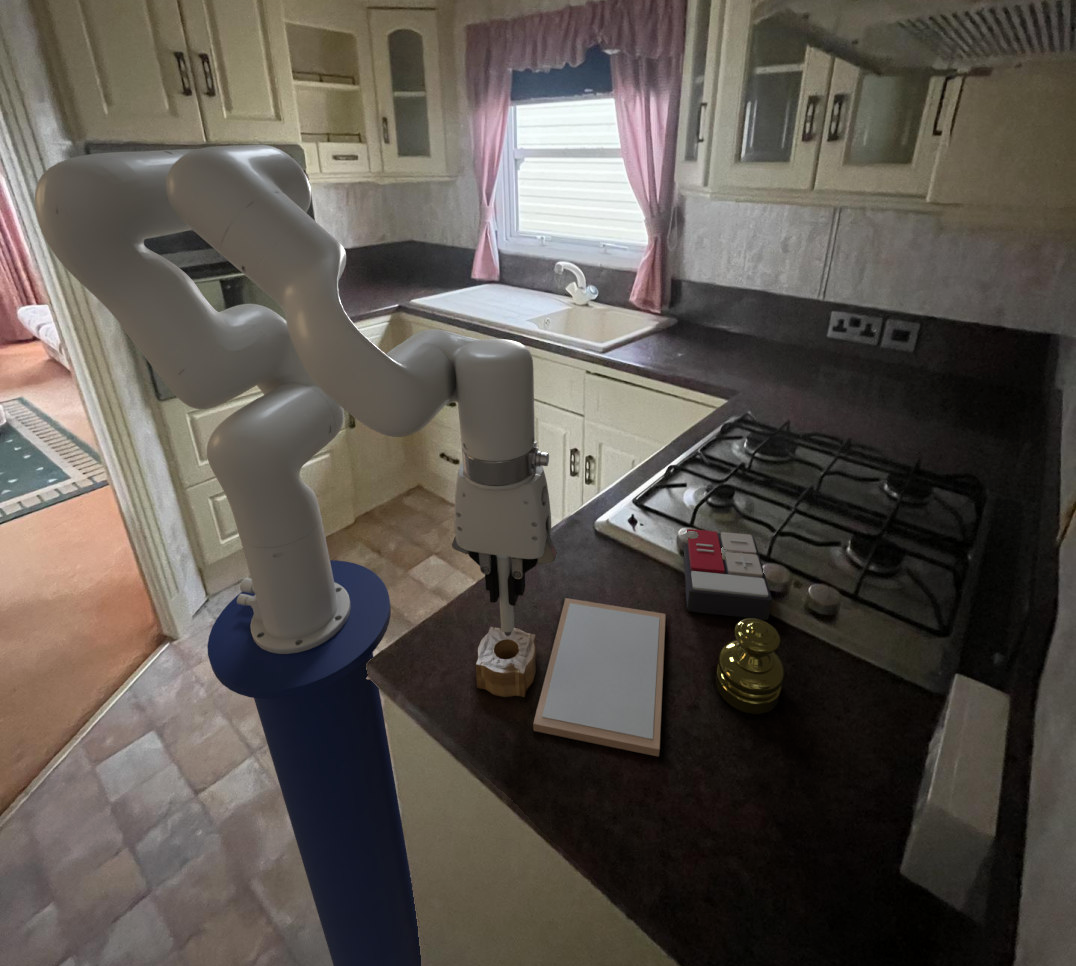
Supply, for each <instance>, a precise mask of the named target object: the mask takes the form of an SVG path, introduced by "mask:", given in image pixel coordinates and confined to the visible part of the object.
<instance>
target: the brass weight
mask: <svg viewBox="0 0 1076 966" xmlns="http://www.w3.org/2000/svg"><path fill="white" fill-rule="evenodd" d="M733 633H734V637H735V639H733V640H730V641H728V642H726V643H725V644H724V645H723V646H722V647H721V649H720V650H719V654H718V663H717V665H716V666H717V667H716V675H715V686H716V689H717V691H718V693H719V695H720V696H721V698H722V699H723V700H724V701H725V702H726V703H727V704H728V705H729V706H731V707H732V708H734V709H736V710H738V711H740V712H742V713H746V714H751V715H761V714H766V713H768V712H770V711H772V710H773V709H774V708H775V707H776V706H777V704H778V702H779V700H780V699H779V698H780V695H781V692H782V688H783V682H784V680H785V675H786V672H785V666H784V664H783V661H782V660H781V658H780V656H779V655H778V654H777V653H776V651H777V650H778V649H779V647H780V645H781V637H780V634H779V632H778V630H777V629H776V628H775V627H774V626H773V625H772V624H770V623H769V622H768V621H766V620H762V619H755V618H743V619H741V620H739V621H738V622H737V623H736V624H735V627H734V632H733Z"/></svg>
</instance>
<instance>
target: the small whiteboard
mask: <svg viewBox="0 0 1076 966" xmlns="http://www.w3.org/2000/svg"><path fill="white" fill-rule="evenodd" d="M665 637H666V613H662V612H657V611H650V610H643V609H637V608H630V607H625V606H618V605H612V604H605V603H598V602H593V601H587V600H579V599H573V598H566V597H565V598H564V603H563V607H562V611H561V614H560V618H559V622H558V625H557V629H556V634H555V638H554V642H553V645H552V648H551V653H550V657H549V661H548V665H547V668H546V673H545V677H544V681H543V684H542V688H541V692H540V696H539V700H538V703H537V707H536V711H535V716H534V718H533V725H532V727H533V728H532V729H533V732H537V733H542V734H547V735H551V736H555V737H561V738H567V739H571V740H576V741H580V742H585V743H591V744H595V745H600V746H604V747H610V748H615V749H620V750H625V751H630V752H635V753H638V754H643V755H644V754H645V755H648V756H653V757H660V750H661V730H662V729H661V727H662V705H663V685H664V680H663V679H664V664H665V663H664V661H665V641H666V640H665V639H666V638H665Z"/></svg>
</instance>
